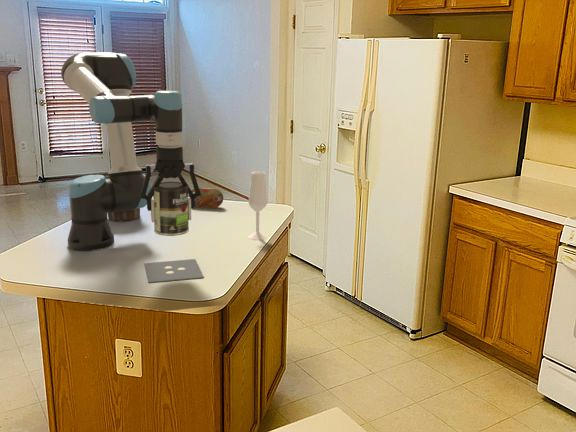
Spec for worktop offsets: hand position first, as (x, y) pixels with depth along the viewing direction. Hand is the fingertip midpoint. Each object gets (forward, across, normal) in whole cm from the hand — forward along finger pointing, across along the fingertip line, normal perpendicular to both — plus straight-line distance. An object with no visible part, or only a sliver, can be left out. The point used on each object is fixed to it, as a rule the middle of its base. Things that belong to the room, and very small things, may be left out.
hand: (171, 219), depth 171 cm
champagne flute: (+17, +34, +26) cm, 46 cm away
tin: (+17, +23, +72) cm, 78 cm away
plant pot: (+17, -12, +62) cm, 66 cm away
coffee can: (+4, 0, 0) cm, 4 cm away
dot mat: (+16, 0, 0) cm, 16 cm away
